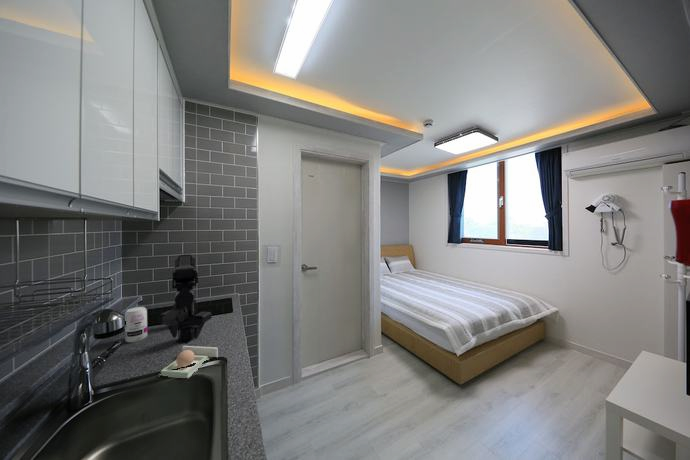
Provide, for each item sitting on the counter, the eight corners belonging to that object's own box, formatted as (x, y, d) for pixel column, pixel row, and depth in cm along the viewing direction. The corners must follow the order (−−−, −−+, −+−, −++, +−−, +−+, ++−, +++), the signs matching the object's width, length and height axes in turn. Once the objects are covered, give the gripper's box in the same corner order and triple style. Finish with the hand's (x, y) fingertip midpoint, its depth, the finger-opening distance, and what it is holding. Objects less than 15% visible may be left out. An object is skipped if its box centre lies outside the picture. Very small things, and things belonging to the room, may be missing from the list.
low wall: (182, 355, 101) (181, 346, 101) (183, 354, 102) (183, 345, 102) (216, 357, 99) (216, 348, 99) (217, 356, 100) (217, 347, 100)
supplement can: (138, 334, 120) (138, 305, 120) (151, 335, 118) (151, 307, 118) (120, 342, 112) (120, 311, 112) (134, 344, 110) (133, 312, 110)
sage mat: (158, 376, 87) (158, 371, 87) (183, 358, 99) (183, 353, 99) (188, 378, 86) (188, 373, 86) (209, 359, 98) (209, 355, 98)
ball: (172, 370, 90) (172, 355, 90) (184, 361, 96) (184, 346, 96) (186, 370, 89) (186, 355, 89) (198, 361, 95) (197, 347, 95)
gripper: (144, 305, 85) (144, 347, 85) (191, 307, 83) (192, 350, 84) (169, 296, 96) (170, 333, 96) (212, 297, 94) (212, 335, 95)
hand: (185, 337), depth 92 cm, fingers open, 9 cm apart
